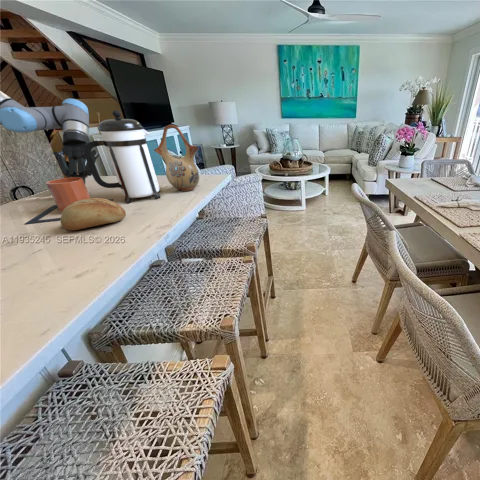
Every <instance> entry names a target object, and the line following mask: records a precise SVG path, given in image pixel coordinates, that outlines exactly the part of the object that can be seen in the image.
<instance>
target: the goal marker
mask: <svg viewBox="0 0 480 480" xmlns="http://www.w3.org/2000/svg"><path fill="white" fill-rule="evenodd" d="M107 200H110V201H113V202H114V198H108V199H107ZM57 208H58V206H57V204H53V205H52V206H50V207H49V208H47V209H45V210H44V211H42V212H40V213H39V214H38V215H37V214H36V216H34V217H32V218H31V219H30V220H28V221H27V222H25V223H24V225H32V224H41V223H49V222H58V221H61V220H60V219H61V217H54V218H46V219H43V218H44V217H45V216H47V215H48V214H50V213H51V212H53V211H54V210H55V209H57Z"/></svg>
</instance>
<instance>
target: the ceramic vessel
mask: <svg viewBox="0 0 480 480" xmlns="http://www.w3.org/2000/svg"><path fill="white" fill-rule="evenodd" d="M169 129H174V130H176V131H177V133H178V135H179V136H180V138H181V140H182V142H183V144H184V149H185V155H184V156H183V157H182V158H176V157H174V156H172V155H171V154H170V152H169V151H168V146H167V135H168V134H167V133H168V130H169ZM199 150H200V148H199V147H198V146H196V145H192V144H190V143H189V142H188V140H187V138H186V137H185V135H184V134H183V132H182V130H181V129H180V128H179V127H178V126H177V125H174V124H168V125H165V126H164V128H163V132H162V136H161V140H160V143H159V145H158V147H157V148H154V149H153V151H154V152H155V153H157V154H158V155H159V156H160V157H161V158H162V159H163V160H164V162H165V176H166V178H167V181H168V182H169V184H170V185H171V186H172V187H173V188H174V189H176V190H178V191H180V192H189V191H193V190H195V189H196V187H198V185H199V182H200V173H199V170H198V169H199V168H198V167H197V166H196V164H195V156H196V154H197V153H198V151H199Z"/></svg>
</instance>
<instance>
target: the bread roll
mask: <svg viewBox="0 0 480 480" xmlns="http://www.w3.org/2000/svg"><path fill="white" fill-rule="evenodd" d="M126 216H127V213H126V210H125V209H124V208H123V206H121V205H120V204H119V203H116V202H114V200H113V201H110V200H108V199H107V198H101V197H93V198H92V197H90V199H83V200H79V201H76V202H74V203H72V204H70V205H69V206H67V207H66V208H65V209H64V210H63V212H62V213H61V216H60V218H61V219H60V220H59V221H60V225H61V226H62V227H63V229H65V230H67V231H78V230H79V231H80V230H83V229H88V228H93V227H96V226H101V225H107V224H112V223H117V222H119V221H122V220H123V219H125V218H126Z"/></svg>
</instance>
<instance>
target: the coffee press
mask: <svg viewBox="0 0 480 480" xmlns="http://www.w3.org/2000/svg"><path fill="white" fill-rule="evenodd" d="M112 116H113V117H114V118H110V119H103V120H102V121H100V122H99V123H98V128H97V131H98V132H99V133H100V135H101V137H102V140H91V141H90V143H88V144H87V145H86V146H85V149H84V154H85V158H86V163H88V166H89V168H90V171H91V173H92V175H91V176H92V177H93V180H94V181H95V182H96V184H98V185H99V186H101V187H103V188H106V189H116V188H118V189H120V190H121V192H122V194H123V196H124V200H123V201H124V203H126V204H131V203H132V201H133V199H138V198H146V197H150V196H151V197H153V198H154V199H155V200H159V199H161V195H160V194H159V193H160V192H161V189H160V185H159V181H158V178H157V175H156V171H155V168H154V164H153V161H152V158H151V154H150V151H149V147H148V142H147V138H146V137H145V136H150V132H149V131H147V130H146V129H144V126H143V125H142V124H141V123H140V122H139V121H138V120H136V119H133V118H122V117H121V116H122V113H121V112H120V111H119V110H116V109H115V110H113V111H112ZM101 146H102V147H103V146H104V147H105V148H106V151H107V154H108V157H109V159H110V162H111V165H112V168H113V171H114V173H115V176H116V179H117V181H118V182H106V181H104V180H103V179H102V177H101V176H100V173H99V171H98V168H97V166H96V162H95V163H94V160H93V158H92V155H91V150H93V148H96V147H101Z"/></svg>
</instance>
